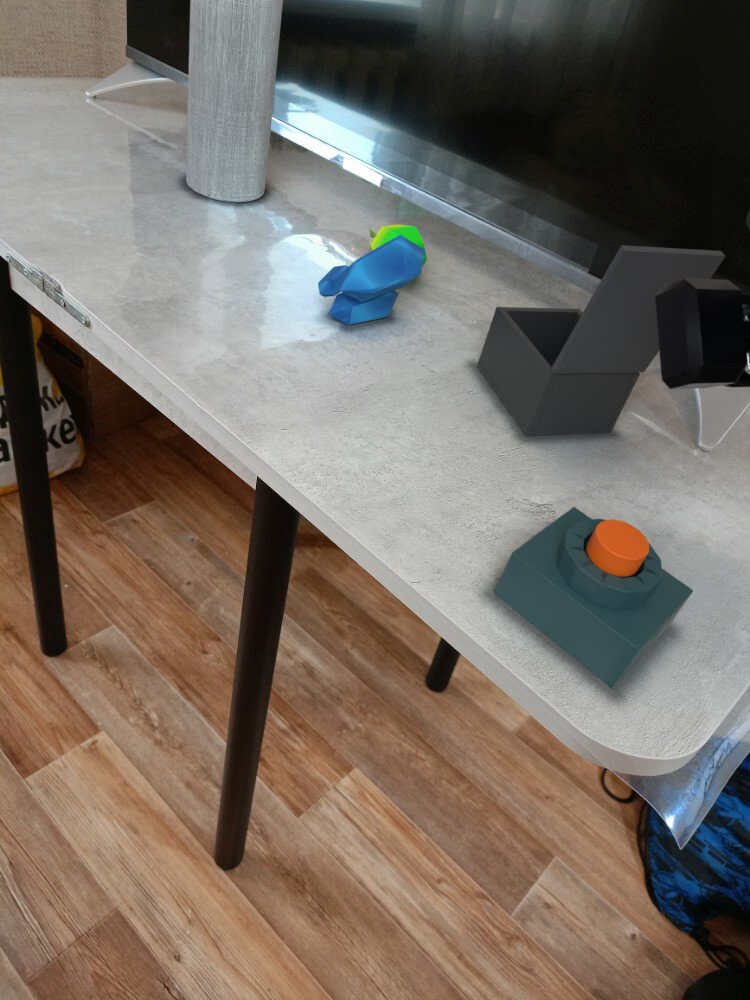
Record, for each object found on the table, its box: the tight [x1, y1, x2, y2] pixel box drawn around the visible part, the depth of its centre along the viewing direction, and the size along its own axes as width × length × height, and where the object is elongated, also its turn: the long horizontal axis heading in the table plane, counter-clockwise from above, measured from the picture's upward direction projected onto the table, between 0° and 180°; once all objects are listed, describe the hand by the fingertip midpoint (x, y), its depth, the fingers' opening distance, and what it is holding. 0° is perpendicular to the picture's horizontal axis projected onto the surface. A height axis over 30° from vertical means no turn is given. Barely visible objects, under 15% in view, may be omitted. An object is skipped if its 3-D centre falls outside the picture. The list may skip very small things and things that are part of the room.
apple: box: [368, 223, 428, 268], centre depth 87 cm, size 7×6×9 cm
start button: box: [586, 519, 650, 577], centre depth 49 cm, size 4×4×2 cm
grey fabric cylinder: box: [185, 0, 284, 203], centre depth 88 cm, size 10×10×27 cm
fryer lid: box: [552, 244, 726, 373], centre depth 61 cm, size 12×9×1 cm
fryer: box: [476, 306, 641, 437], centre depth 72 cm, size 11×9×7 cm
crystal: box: [317, 235, 426, 326], centre depth 77 cm, size 7×9×12 cm
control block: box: [493, 506, 694, 689], centre depth 52 cm, size 10×8×6 cm
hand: (690, 362), depth 55 cm, fingers closed
